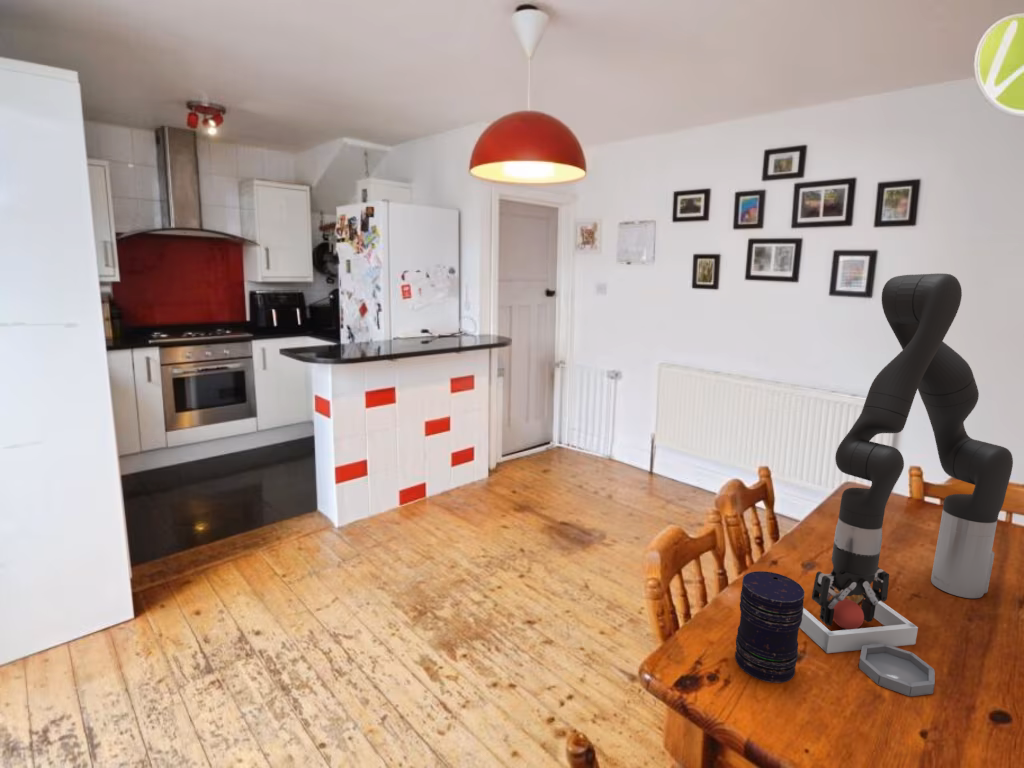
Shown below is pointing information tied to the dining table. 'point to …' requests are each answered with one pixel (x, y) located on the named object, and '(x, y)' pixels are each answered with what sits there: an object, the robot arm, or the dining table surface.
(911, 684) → the dish
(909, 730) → the dining table surface
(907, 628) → the white u-shaped bracket
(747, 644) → the dark blue ridged cylinder
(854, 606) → the ball
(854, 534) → the robot arm
